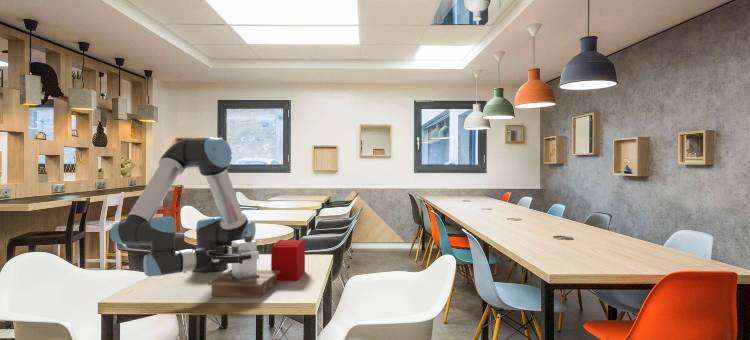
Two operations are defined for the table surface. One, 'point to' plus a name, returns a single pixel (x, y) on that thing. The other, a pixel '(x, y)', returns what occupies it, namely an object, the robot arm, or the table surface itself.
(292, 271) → the fire alarm
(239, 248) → the aluminium housing
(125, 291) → the table surface
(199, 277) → the table surface
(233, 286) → the walnut stand
